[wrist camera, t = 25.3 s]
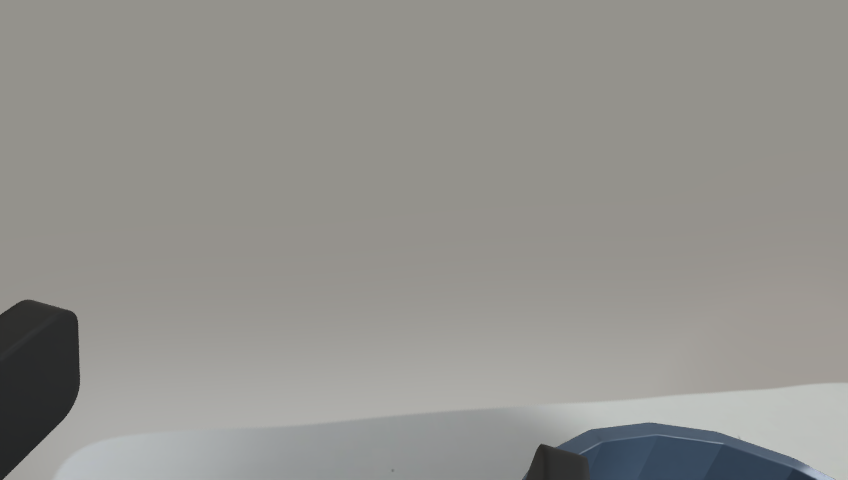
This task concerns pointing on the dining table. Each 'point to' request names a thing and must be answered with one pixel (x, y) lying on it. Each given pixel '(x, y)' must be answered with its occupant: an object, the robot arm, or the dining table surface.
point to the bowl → (681, 455)
